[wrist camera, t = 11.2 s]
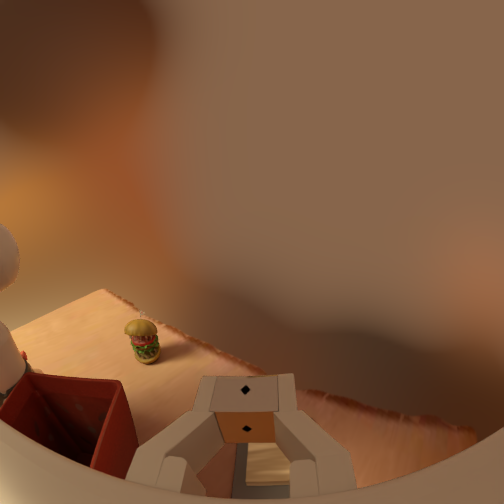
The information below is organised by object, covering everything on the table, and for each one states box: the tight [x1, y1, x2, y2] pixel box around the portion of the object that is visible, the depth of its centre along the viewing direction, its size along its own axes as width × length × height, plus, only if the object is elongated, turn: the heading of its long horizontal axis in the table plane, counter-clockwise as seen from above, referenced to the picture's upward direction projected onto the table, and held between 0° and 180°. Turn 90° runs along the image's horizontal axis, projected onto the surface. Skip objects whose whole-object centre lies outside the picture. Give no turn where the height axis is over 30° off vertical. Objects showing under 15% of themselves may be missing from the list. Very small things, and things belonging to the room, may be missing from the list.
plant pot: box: [0, 372, 139, 480], centre depth 21 cm, size 19×19×17 cm
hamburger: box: [124, 310, 161, 364], centre depth 55 cm, size 8×7×12 cm
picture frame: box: [246, 443, 291, 486], centre depth 31 cm, size 2×8×12 cm
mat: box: [231, 443, 289, 499], centre depth 31 cm, size 16×12×1 cm
